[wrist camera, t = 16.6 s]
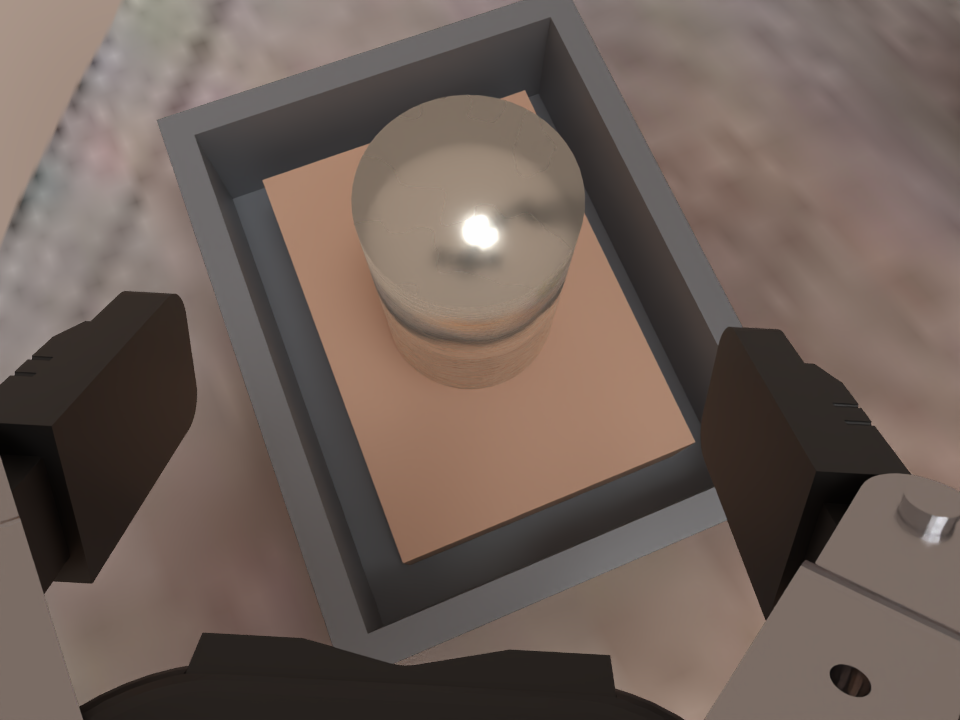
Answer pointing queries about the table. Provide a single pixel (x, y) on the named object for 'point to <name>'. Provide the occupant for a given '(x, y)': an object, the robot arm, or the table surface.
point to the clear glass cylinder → (468, 234)
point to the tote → (306, 369)
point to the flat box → (476, 412)
